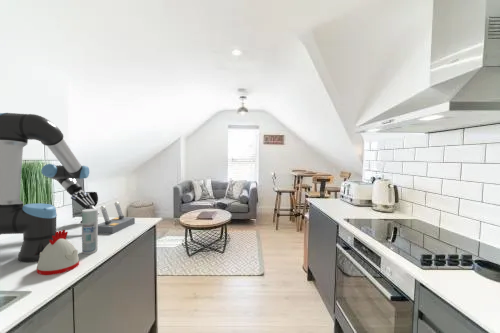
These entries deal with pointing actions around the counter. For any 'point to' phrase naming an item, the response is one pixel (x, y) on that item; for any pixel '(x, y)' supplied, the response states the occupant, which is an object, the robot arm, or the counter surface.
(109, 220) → the lever near
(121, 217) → the lever far
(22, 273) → the counter surface
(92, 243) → the spray can
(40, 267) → the white chicken hat
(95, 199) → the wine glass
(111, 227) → the switch box
